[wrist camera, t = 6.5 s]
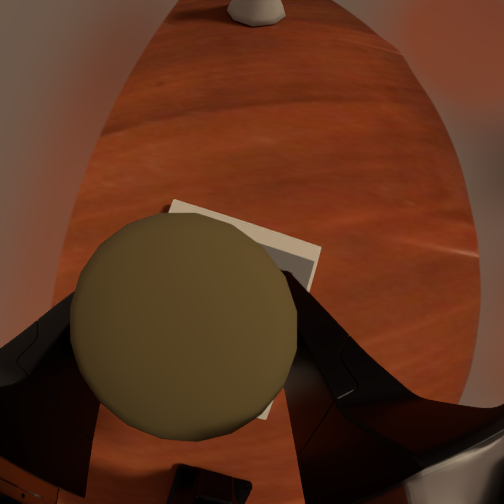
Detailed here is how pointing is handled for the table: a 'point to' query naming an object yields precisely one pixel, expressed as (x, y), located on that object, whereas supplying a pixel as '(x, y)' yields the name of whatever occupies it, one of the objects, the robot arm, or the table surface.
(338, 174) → the table surface
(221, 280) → the cork
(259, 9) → the flask
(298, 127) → the table surface
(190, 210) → the socket
